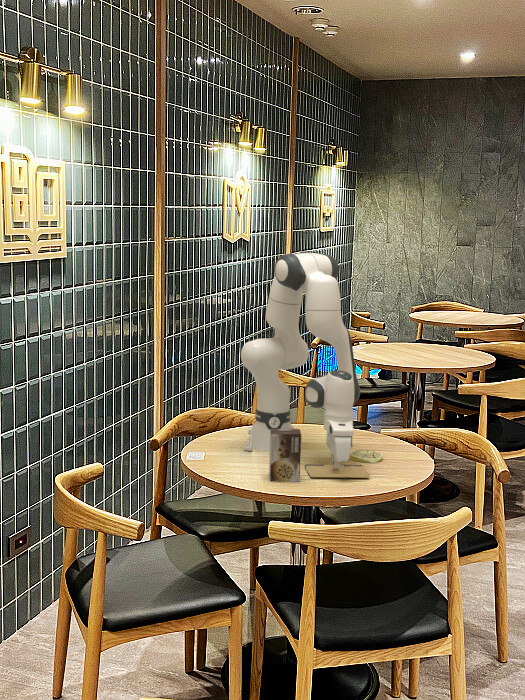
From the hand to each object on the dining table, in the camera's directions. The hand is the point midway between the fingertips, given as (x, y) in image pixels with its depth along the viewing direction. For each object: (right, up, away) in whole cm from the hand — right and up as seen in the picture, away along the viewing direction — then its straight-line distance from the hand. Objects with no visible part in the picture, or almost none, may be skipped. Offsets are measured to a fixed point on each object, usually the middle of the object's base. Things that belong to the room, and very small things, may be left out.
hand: (335, 467), depth 257 cm
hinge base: (0, -3, 0) cm, 3 cm away
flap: (0, -3, 0) cm, 3 cm away
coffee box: (-16, -4, -8) cm, 19 cm away
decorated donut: (+11, -1, +18) cm, 21 cm away
